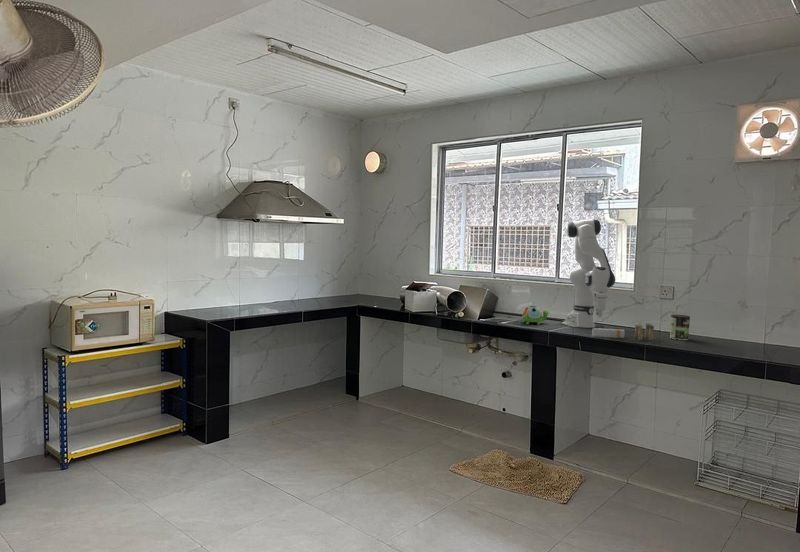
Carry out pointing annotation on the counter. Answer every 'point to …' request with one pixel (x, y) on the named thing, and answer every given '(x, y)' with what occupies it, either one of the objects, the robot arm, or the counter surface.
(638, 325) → the collar
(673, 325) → the coffee can
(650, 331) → the collar
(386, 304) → the counter surface
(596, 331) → the tube
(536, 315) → the turtle holder
